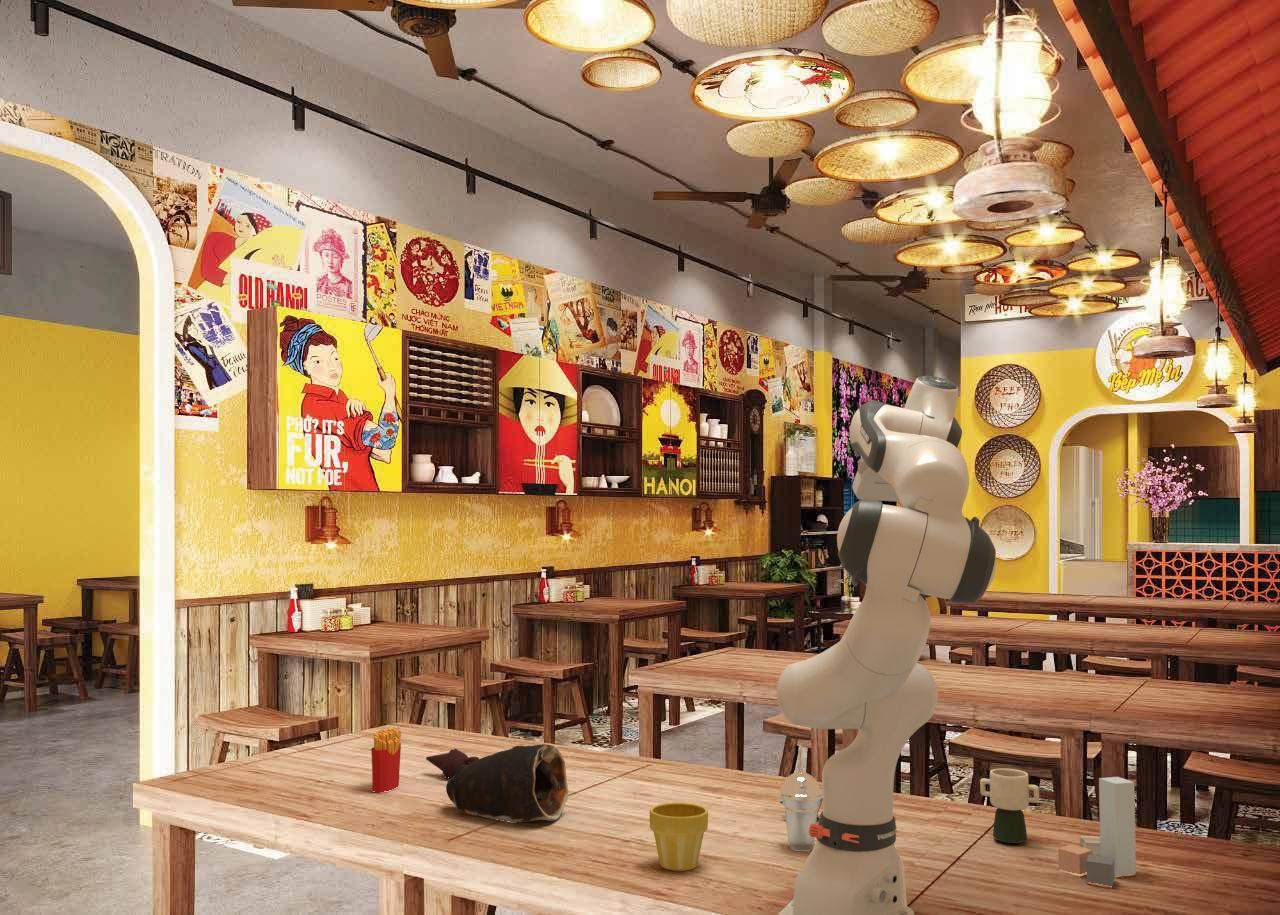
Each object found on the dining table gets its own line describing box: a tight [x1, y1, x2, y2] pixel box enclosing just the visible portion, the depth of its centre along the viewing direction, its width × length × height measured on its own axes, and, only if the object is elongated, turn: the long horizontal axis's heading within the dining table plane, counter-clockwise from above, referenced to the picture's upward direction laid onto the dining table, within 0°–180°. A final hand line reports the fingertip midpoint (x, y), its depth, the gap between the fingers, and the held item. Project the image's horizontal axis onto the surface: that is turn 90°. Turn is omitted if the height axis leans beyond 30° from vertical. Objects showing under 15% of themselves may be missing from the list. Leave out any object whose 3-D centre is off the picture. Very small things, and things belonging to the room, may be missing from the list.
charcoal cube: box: [1086, 855, 1115, 887], centre depth 181 cm, size 4×4×4 cm
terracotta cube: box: [1057, 843, 1092, 874], centre depth 186 cm, size 4×4×4 cm
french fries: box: [370, 727, 402, 793], centre depth 240 cm, size 9×4×13 cm, turn 160°
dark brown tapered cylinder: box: [445, 743, 569, 823], centre depth 220 cm, size 15×15×25 cm
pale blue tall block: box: [1098, 776, 1137, 876], centre depth 186 cm, size 4×4×16 cm
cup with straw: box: [777, 744, 823, 853], centre depth 199 cm, size 8×9×20 cm
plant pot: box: [649, 801, 709, 872], centre depth 189 cm, size 10×10×10 cm
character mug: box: [979, 768, 1040, 844], centre depth 204 cm, size 11×7×13 cm, turn 58°
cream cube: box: [1079, 835, 1100, 856], centre depth 192 cm, size 4×4×4 cm
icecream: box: [425, 748, 480, 779], centre depth 250 cm, size 7×7×15 cm
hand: (898, 517), depth 203 cm, fingers open, 8 cm apart
